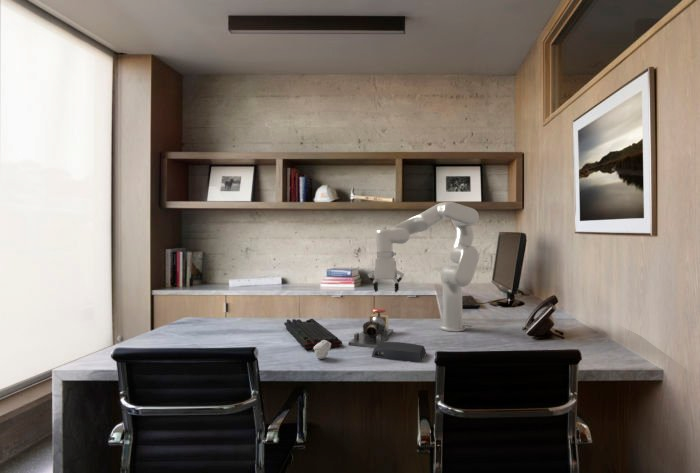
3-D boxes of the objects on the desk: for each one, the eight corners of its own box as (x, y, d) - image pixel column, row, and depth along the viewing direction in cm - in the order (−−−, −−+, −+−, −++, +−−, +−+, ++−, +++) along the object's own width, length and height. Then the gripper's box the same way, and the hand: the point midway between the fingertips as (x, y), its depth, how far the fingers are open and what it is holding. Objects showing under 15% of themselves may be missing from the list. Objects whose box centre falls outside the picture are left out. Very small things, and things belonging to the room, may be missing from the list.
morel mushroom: (378, 336, 170) (375, 322, 170) (362, 339, 170) (360, 325, 171) (379, 330, 187) (376, 319, 188) (365, 333, 188) (363, 321, 188)
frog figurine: (333, 359, 151) (333, 341, 151) (315, 362, 149) (315, 343, 149) (328, 355, 157) (328, 337, 157) (311, 357, 155) (311, 339, 155)
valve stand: (393, 331, 193) (393, 308, 193) (377, 347, 166) (377, 321, 166) (368, 329, 198) (368, 307, 198) (348, 345, 171) (348, 319, 171)
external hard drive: (380, 349, 166) (380, 339, 166) (426, 354, 159) (426, 343, 159) (370, 358, 154) (370, 348, 154) (420, 364, 147) (420, 353, 147)
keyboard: (342, 348, 168) (342, 336, 168) (304, 352, 162) (304, 340, 162) (315, 326, 208) (315, 316, 208) (284, 328, 202) (284, 319, 202)
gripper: (404, 254, 187) (406, 290, 188) (369, 254, 193) (370, 289, 193) (401, 255, 180) (402, 293, 181) (364, 256, 186) (366, 292, 186)
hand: (386, 291), depth 187 cm, fingers open, 9 cm apart
